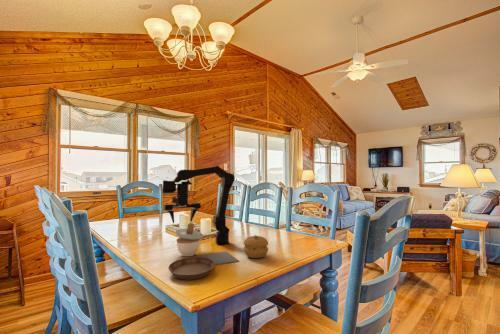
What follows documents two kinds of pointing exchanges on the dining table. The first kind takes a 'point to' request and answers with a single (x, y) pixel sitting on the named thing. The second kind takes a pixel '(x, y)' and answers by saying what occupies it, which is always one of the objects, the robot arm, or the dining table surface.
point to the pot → (255, 246)
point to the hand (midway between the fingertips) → (182, 222)
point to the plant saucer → (191, 267)
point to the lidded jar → (187, 246)
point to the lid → (189, 233)
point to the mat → (219, 257)
